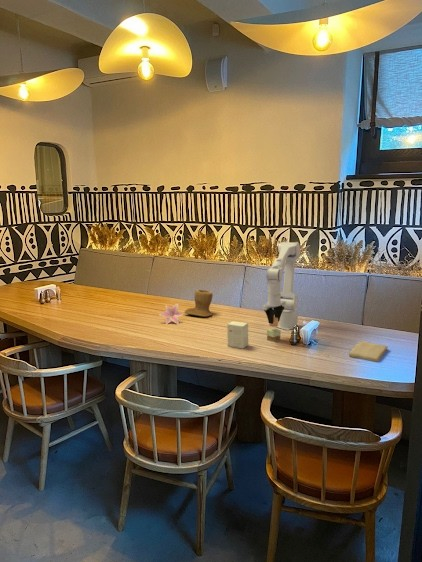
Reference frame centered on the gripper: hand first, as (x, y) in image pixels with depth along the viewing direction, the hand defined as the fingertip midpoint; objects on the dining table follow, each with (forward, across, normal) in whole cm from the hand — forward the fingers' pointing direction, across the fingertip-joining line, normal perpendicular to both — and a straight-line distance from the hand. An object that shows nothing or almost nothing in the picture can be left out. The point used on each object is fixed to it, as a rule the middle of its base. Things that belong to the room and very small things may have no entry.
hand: (273, 322), depth 193 cm
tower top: (+6, 0, 0) cm, 6 cm away
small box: (+9, +18, -6) cm, 21 cm away
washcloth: (+9, -15, +40) cm, 43 cm away
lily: (+9, +17, -58) cm, 61 cm away
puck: (+2, 0, 0) cm, 2 cm away
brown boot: (+9, -4, -58) cm, 59 cm away
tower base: (+9, 0, 0) cm, 9 cm away
